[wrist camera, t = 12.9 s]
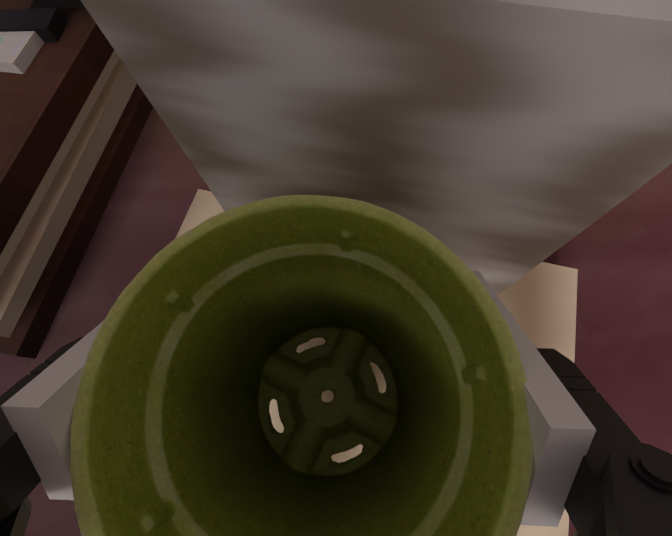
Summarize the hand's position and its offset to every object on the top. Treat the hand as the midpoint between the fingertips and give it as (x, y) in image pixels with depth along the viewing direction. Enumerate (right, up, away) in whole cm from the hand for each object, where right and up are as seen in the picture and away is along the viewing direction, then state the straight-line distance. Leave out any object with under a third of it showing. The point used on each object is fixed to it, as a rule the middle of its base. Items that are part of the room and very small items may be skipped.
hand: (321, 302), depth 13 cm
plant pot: (0, -4, +3) cm, 5 cm away
